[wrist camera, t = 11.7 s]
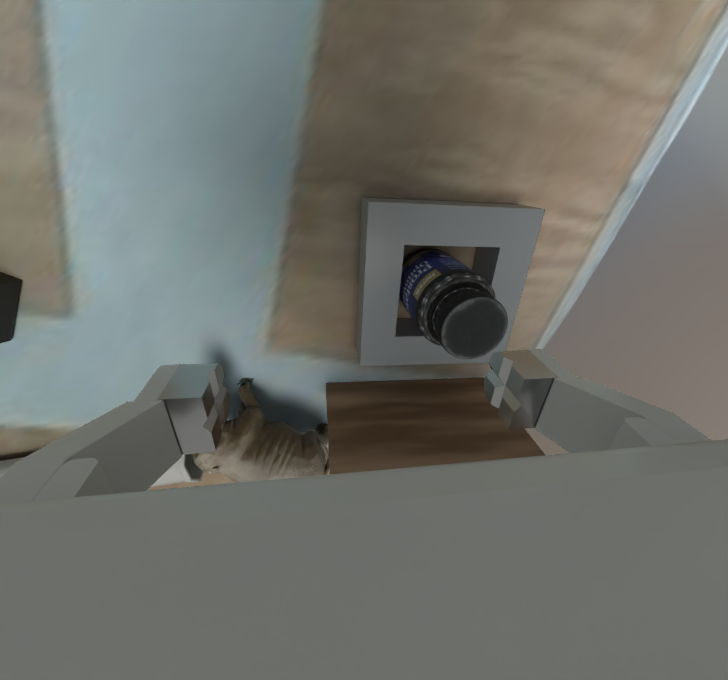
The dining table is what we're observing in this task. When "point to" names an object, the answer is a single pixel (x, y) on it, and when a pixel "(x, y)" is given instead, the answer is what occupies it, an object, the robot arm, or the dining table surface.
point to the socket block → (435, 228)
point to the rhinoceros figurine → (264, 446)
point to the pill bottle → (452, 304)
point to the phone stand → (8, 305)
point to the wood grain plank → (417, 425)
